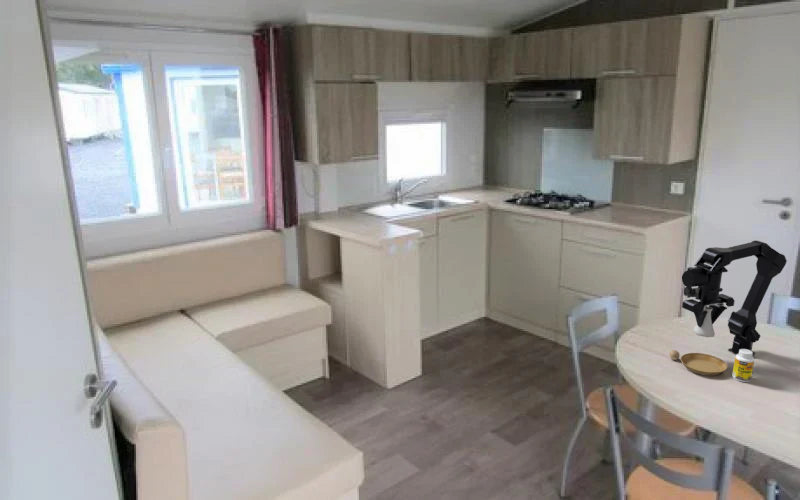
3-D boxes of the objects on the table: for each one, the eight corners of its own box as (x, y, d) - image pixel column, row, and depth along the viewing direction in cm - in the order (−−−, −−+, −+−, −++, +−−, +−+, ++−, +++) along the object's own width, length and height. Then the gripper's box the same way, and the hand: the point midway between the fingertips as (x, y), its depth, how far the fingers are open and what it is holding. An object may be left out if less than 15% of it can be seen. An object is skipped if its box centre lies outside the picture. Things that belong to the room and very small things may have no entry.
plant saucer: (709, 383, 196) (710, 376, 195) (670, 365, 208) (671, 358, 208) (735, 371, 203) (736, 365, 202) (696, 355, 215) (697, 349, 215)
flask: (717, 338, 205) (722, 312, 203) (695, 337, 207) (699, 310, 204) (711, 330, 212) (715, 304, 209) (690, 329, 214) (693, 303, 211)
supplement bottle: (734, 381, 196) (738, 353, 193) (730, 373, 201) (734, 346, 198) (752, 383, 194) (757, 355, 192) (748, 376, 200) (753, 348, 197)
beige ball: (673, 356, 214) (674, 347, 213) (681, 360, 211) (682, 351, 210) (666, 358, 213) (667, 349, 212) (673, 362, 210) (675, 353, 209)
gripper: (711, 274, 215) (706, 313, 219) (672, 280, 208) (667, 321, 213) (738, 283, 205) (731, 324, 209) (698, 290, 198) (692, 332, 203)
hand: (705, 325), depth 208 cm, fingers closed on flask, 5 cm apart
